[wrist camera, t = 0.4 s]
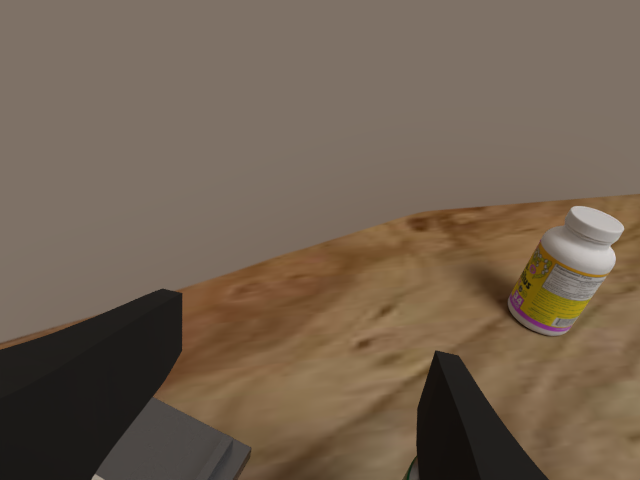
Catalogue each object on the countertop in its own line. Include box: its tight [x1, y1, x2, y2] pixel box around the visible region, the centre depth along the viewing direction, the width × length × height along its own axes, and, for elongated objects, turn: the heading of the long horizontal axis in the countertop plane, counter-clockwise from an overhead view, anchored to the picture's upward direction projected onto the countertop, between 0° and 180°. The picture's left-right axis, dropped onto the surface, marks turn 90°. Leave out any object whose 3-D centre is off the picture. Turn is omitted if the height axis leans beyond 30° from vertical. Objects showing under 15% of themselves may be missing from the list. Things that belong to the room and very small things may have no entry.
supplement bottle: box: [508, 206, 624, 336], centre depth 43 cm, size 7×7×13 cm
